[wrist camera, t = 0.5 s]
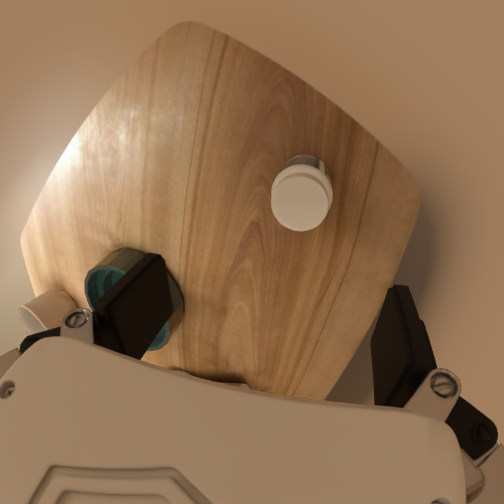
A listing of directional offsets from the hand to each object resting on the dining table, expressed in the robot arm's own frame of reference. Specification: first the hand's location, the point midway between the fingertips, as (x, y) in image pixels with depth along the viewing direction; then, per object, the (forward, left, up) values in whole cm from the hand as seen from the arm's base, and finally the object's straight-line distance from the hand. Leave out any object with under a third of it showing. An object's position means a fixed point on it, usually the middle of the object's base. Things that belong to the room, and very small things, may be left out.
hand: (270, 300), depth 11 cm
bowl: (+18, -20, -18) cm, 32 cm away
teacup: (+28, -39, -18) cm, 51 cm away
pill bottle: (-1, 0, -18) cm, 18 cm away
